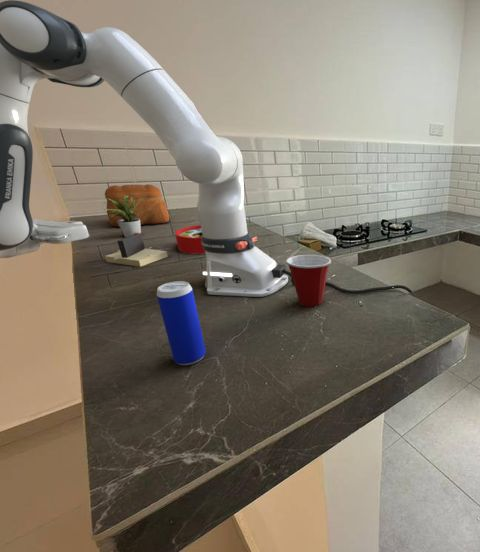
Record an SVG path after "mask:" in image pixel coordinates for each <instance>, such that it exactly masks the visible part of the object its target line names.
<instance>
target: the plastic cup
mask: <svg viewBox="0 0 480 552" xmlns="http://www.w3.org/2000/svg"><path fill="white" fill-rule="evenodd" d="M331 259H332V258H329V256H328V257H327V256H324V255H321V254H300V255H299V254H298V255H294V256H290V257H288V258H287V259H286V265H288V267H289V270H290V271H289V272H291V274H292V277H293V281H294V284H293V286H294V290H295V293H296V294H297V299H298V302H299V304H300V306H302V307H306V308H313V307H317V306H320V305H321V304H323V300H324V295H325V294H324V293H325V289H326V285H325V283H326V282H327V276H328V273H329V271H328V270H329V268H330V267H329V266H330V264H332V260H331Z"/></svg>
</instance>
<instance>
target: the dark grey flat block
mask: <svg viewBox="0 0 480 552" xmlns="http://www.w3.org/2000/svg"><path fill="white" fill-rule="evenodd" d="M144 243H145V242H144V240H143V236H142V232H141V233H134V234H133V235H130V236H128V237H125V236H124V237H123V238H120V239H118V240H117V246H118V248H119V249H118V250H119V252H121V255H122V258H128V257H130V256H132V255H134V254H136V253H138V252H140V251H142V250H144V249H146V247H145V244H144Z"/></svg>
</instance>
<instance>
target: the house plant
mask: <svg viewBox="0 0 480 552" xmlns="http://www.w3.org/2000/svg"><path fill="white" fill-rule="evenodd" d="M128 197H129V196H128V195H127V196H126V197H125V196H124V200H123V203H124V206H123V204H122V203H121V202H120V201H119V200H118V199H116V198H115V200H116V201H117V202H115V201H113V200H111V199H109V200H111V201H112V202H113V203H114V204H115V207H116V206H117V207H118V209H119V210H117V209H116V208H115V209H107V208H106V209H105V208H103V209H102V210H104V211H107V210H110V211H112V212H115V213H116V214H113V213H112V216H111V215H109V216H111V218H112V217H113V216H115V215H116V216H117V215H118V217H119V216H120V218H121V217H122V218H123V219H122V218H121V219H122V220H118V221H117V222H118V224H119V226H120V227H119V228H120V231H121V232H122V234H123V236H124V238H125V237H128V236H130V235H133V234H134V233H141V234H142V229H141V226H142V225H140V219H136V218H135V216H137V215H134V209H135V207H136V206H137V204H138V203H139V202H140V201H139V202H138V203H137V204H136V205H135V207H134V204H135V202H136V201H135V199H134V202H133V203H132V197H131V201H130V207H128ZM107 199H108V198H107ZM107 199H106V200H107ZM104 204H107V201H104ZM108 205H109V204H108ZM111 205H112V204H111ZM111 205H110V206H111ZM113 206H114V205H113ZM113 206H112V207H113ZM113 208H114V207H113ZM141 210H146V209H141ZM139 211H140V210H139ZM137 212H138V211H137ZM137 212H136V213H137ZM110 213H111V212H110ZM118 213H119V214H118ZM120 213H122V214H123V215H124V216H123V215H122V214H120ZM136 213H135V214H136ZM109 216H108V215H107V217H109Z"/></svg>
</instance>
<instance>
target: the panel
mask: <svg viewBox="0 0 480 552" xmlns="http://www.w3.org/2000/svg"><path fill="white" fill-rule="evenodd" d="M152 248H153V246H150V247H148V248H145V249H144V250H142V251H140V252H138V253H136V254H134V255H132V256H130V257H128V258H122V255H121V252H120V249H118V250H117V251H116V252H113V253H111V254H107V255H104V258H105V262H106V263H112V264H120V265H127V266H132V267H133V266H134V267H144V266H146V265H150V264H152V263H155V262H157V261H160V260H163V259H166V258H168V257H169V255H168V251H167V250H161V249H152Z"/></svg>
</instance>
